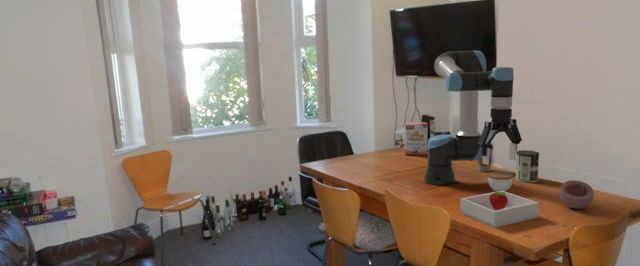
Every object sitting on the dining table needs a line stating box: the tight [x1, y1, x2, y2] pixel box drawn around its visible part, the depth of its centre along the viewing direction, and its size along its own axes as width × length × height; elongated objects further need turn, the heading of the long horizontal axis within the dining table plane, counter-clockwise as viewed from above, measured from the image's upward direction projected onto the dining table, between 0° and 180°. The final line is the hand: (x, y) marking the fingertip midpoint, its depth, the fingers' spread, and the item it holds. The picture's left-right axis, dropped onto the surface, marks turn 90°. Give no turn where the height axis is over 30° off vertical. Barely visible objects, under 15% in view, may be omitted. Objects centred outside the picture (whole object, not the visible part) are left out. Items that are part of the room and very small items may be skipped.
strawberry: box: [489, 188, 508, 211], centre depth 171 cm, size 6×8×10 cm
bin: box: [459, 191, 540, 228], centre depth 171 cm, size 18×22×6 cm
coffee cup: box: [476, 142, 494, 173], centre depth 238 cm, size 8×8×15 cm
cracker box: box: [404, 122, 429, 156], centre depth 283 cm, size 14×6×21 cm, turn 81°
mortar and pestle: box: [558, 179, 595, 210], centre depth 176 cm, size 12×12×12 cm
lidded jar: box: [487, 170, 514, 192], centre depth 202 cm, size 11×11×9 cm
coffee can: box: [515, 149, 540, 183], centre depth 218 cm, size 10×10×14 cm
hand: (499, 161), depth 171 cm, fingers open, 13 cm apart
